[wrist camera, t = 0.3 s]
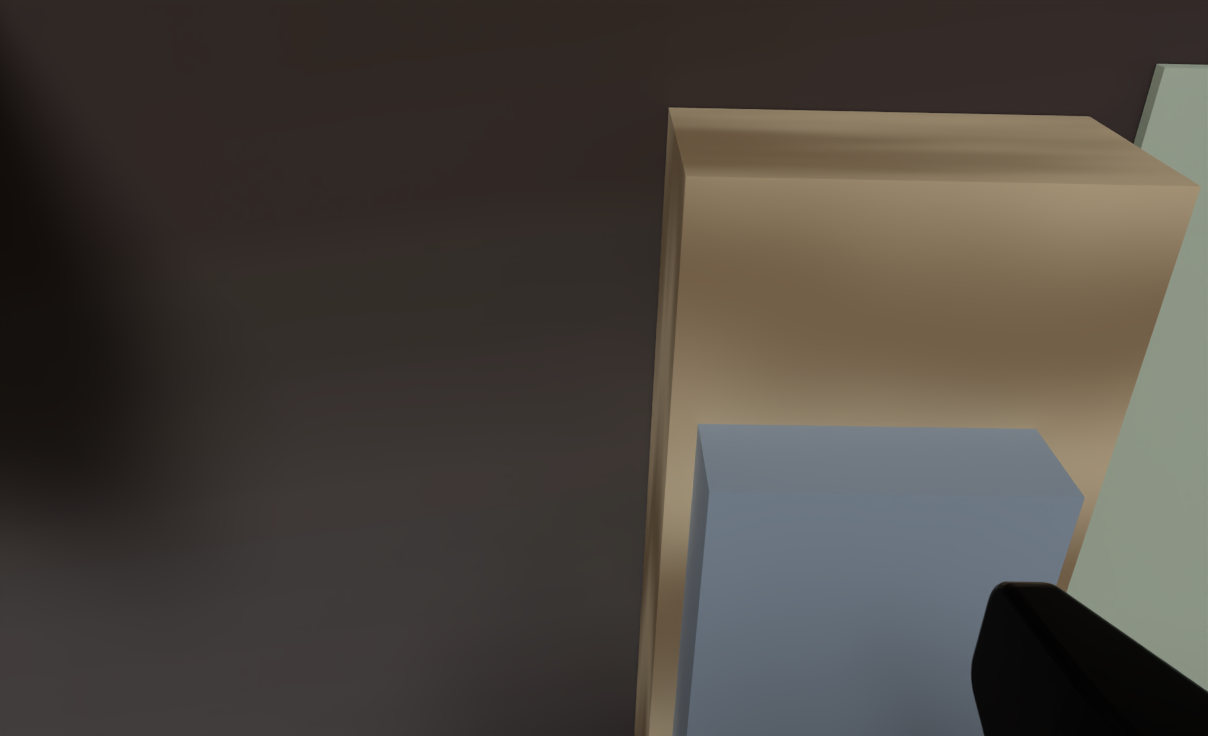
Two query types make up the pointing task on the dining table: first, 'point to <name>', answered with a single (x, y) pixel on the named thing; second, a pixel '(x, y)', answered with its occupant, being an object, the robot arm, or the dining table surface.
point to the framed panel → (894, 297)
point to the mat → (1163, 427)
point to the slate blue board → (856, 573)
